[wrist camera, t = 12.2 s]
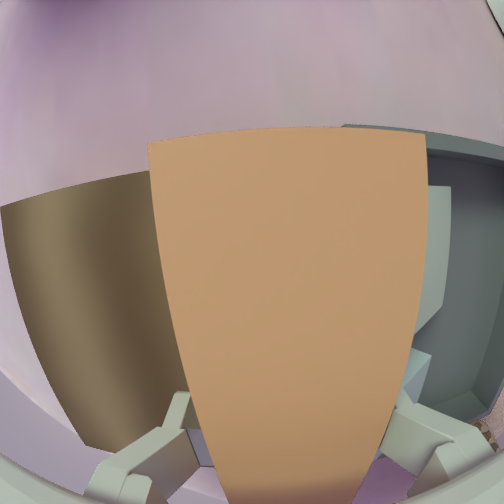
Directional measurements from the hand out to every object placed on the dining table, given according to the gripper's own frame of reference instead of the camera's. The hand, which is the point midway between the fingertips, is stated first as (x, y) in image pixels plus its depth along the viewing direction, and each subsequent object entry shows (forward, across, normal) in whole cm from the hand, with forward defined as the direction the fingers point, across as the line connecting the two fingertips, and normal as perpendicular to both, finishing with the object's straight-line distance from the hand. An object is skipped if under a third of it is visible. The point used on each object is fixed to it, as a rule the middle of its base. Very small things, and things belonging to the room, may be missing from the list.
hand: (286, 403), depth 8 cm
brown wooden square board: (+5, +5, 0) cm, 7 cm away
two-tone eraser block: (+2, 0, 0) cm, 2 cm away
